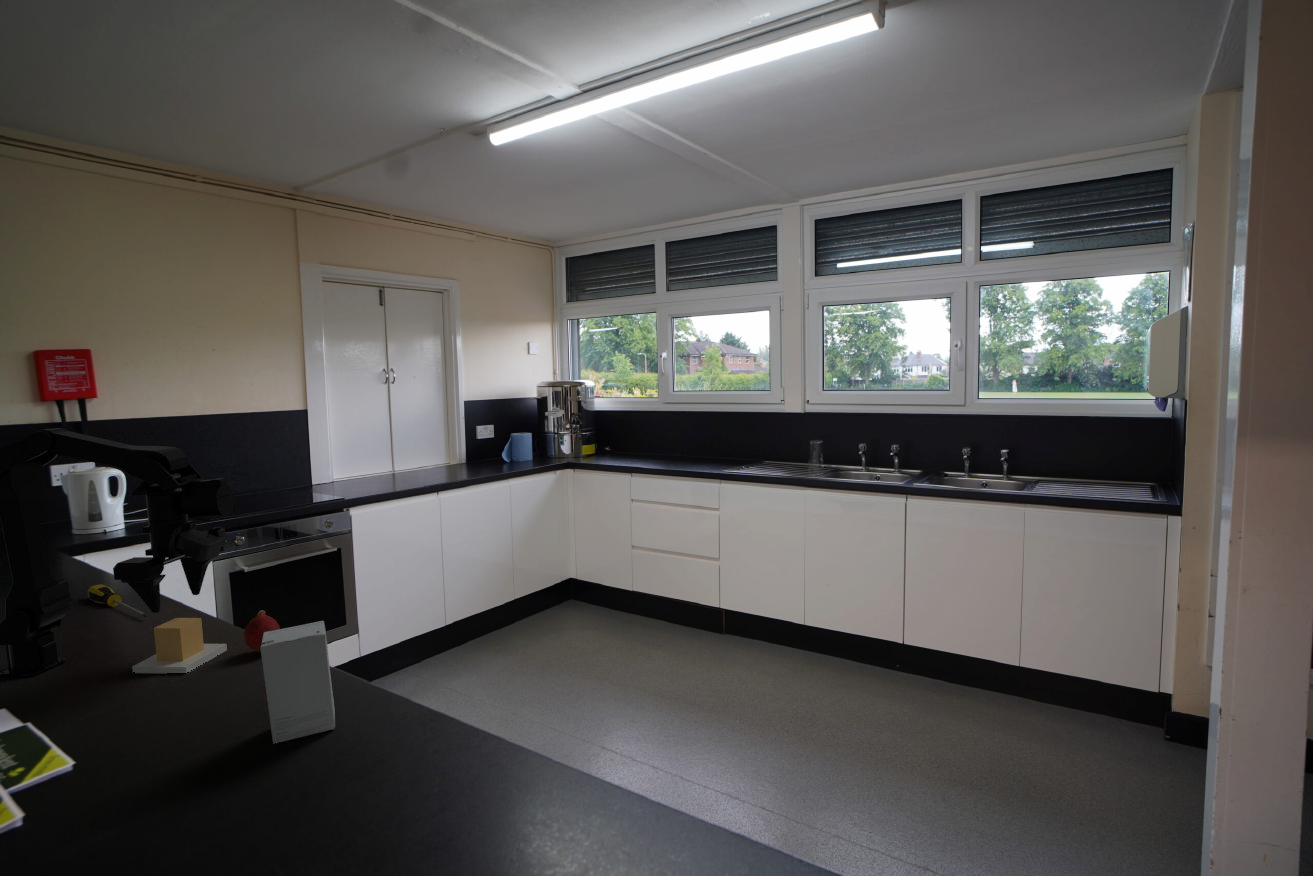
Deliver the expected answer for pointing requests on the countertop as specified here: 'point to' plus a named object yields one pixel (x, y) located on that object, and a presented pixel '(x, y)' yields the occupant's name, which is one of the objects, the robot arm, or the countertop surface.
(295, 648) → the skincare box
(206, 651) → the post plate
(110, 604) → the screwdriver
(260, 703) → the countertop surface
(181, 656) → the cardboard carton
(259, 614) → the onion
